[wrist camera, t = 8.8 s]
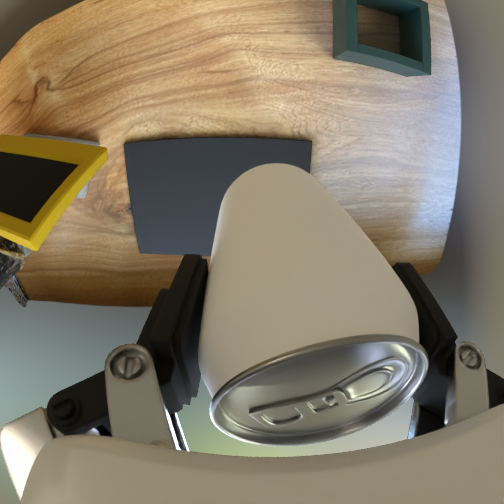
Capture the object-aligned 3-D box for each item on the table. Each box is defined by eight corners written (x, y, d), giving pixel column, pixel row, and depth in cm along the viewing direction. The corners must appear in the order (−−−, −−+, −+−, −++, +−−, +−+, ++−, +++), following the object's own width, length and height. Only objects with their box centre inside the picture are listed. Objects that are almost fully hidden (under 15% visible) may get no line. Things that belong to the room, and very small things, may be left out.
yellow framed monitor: (123, 141, 26) (22, 189, 12) (116, 203, 30) (36, 281, 16) (16, 129, 23) (-67, 165, 10) (16, 178, 27) (-57, 227, 14)
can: (340, 235, 17) (433, 400, 6) (251, 275, 18) (262, 459, 8) (302, 142, 14) (453, 261, 3) (199, 193, 15) (130, 385, 5)
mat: (311, 140, 25) (312, 141, 25) (299, 258, 33) (299, 260, 32) (125, 142, 26) (123, 143, 25) (141, 251, 33) (139, 253, 33)
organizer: (405, 12, 16) (427, 2, 12) (407, 76, 20) (431, 75, 16) (332, -8, 16) (344, -26, 12) (332, 58, 21) (346, 50, 16)
